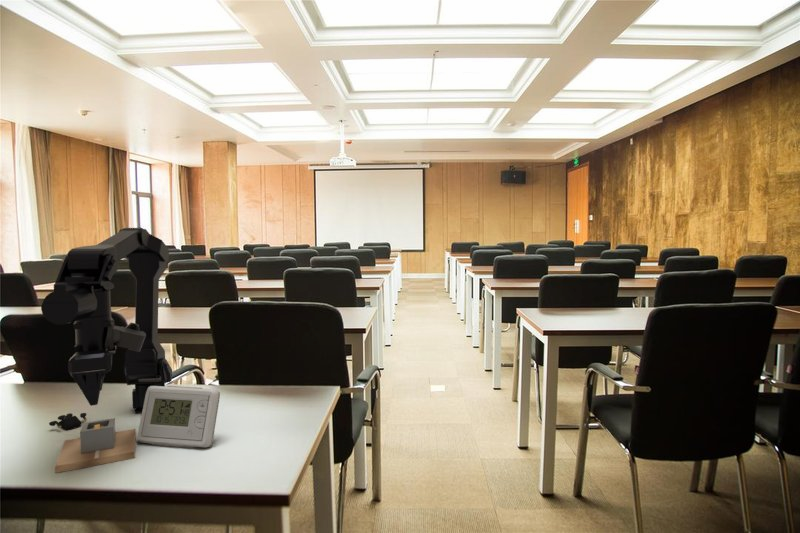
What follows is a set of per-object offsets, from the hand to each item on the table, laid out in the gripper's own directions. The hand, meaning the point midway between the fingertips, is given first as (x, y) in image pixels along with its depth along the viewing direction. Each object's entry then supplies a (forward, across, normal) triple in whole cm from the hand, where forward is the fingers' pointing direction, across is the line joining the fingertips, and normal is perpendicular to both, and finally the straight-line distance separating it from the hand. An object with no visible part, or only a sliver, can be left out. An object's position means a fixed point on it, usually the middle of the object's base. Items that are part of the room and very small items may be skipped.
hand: (96, 397), depth 89 cm
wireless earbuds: (+11, +18, +6) cm, 22 cm away
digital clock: (+11, -2, -14) cm, 18 cm away
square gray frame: (+9, 0, 0) cm, 9 cm away
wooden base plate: (+11, 0, 0) cm, 11 cm away
